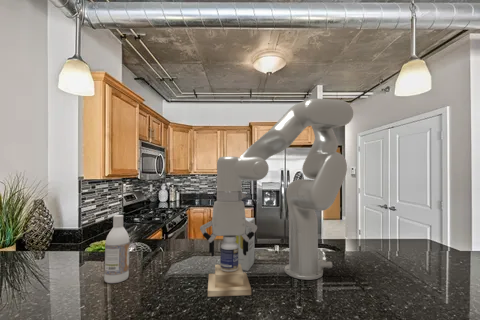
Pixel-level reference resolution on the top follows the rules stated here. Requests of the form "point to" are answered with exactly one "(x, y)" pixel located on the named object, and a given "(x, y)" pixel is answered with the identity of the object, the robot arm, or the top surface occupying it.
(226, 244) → the pill bottle
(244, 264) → the supplement box
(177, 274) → the top surface
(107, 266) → the bath foam
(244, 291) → the plinth
